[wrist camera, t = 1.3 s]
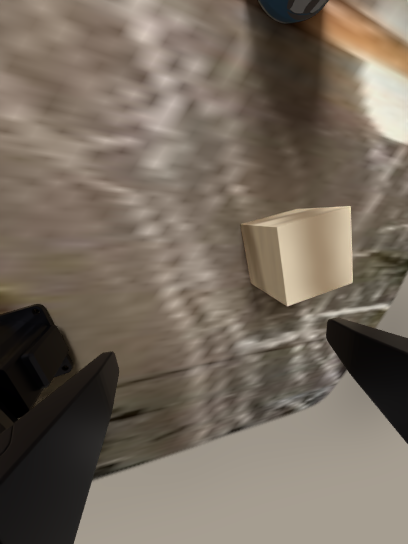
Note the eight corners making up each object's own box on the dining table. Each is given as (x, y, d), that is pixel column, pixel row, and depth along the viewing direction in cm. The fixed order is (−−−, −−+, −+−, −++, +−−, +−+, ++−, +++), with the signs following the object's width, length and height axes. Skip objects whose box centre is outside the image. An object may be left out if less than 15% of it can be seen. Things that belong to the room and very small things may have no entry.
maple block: (250, 283, 22) (287, 306, 16) (240, 224, 20) (276, 227, 14) (301, 266, 23) (352, 282, 17) (295, 209, 21) (350, 206, 16)
